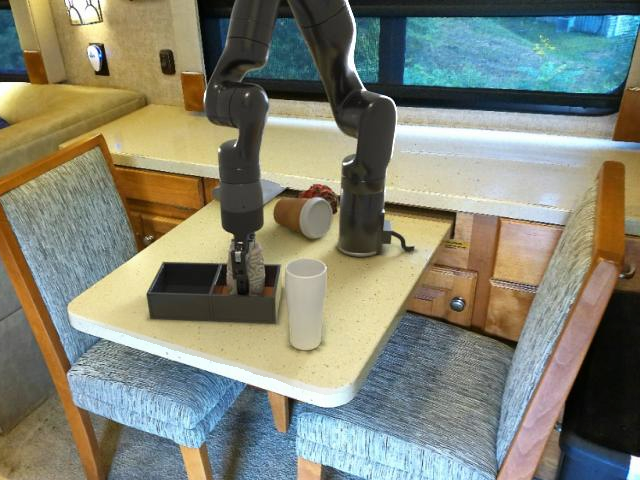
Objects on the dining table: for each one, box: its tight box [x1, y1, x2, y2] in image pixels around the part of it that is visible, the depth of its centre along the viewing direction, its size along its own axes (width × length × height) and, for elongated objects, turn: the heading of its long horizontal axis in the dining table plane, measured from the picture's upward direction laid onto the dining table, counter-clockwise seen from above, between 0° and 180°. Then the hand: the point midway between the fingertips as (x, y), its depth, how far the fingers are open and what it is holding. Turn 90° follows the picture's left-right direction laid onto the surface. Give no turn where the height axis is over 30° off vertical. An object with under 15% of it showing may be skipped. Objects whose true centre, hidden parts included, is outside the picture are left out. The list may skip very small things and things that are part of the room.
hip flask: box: [211, 179, 288, 206], centre depth 162 cm, size 16×4×20 cm
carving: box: [226, 240, 265, 296], centre depth 111 cm, size 6×8×12 cm
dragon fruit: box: [296, 183, 340, 216], centre depth 146 cm, size 8×8×12 cm
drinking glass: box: [284, 257, 328, 351], centre depth 100 cm, size 7×7×15 cm
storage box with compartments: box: [145, 261, 283, 325], centre depth 114 cm, size 24×12×6 cm, turn 82°
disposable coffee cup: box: [272, 197, 334, 240], centre depth 138 cm, size 10×10×12 cm
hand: (246, 284), depth 113 cm, fingers closed on carving, 6 cm apart
